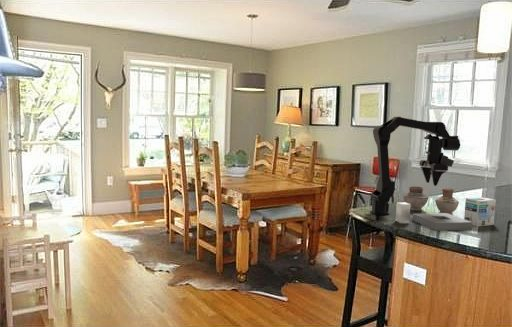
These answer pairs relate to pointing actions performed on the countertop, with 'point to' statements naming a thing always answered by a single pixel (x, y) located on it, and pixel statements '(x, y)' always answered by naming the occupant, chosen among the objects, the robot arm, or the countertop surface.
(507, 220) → the countertop surface
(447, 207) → the pottery
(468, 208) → the light bulb box
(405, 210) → the beige rectangular block
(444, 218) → the square nut plate
